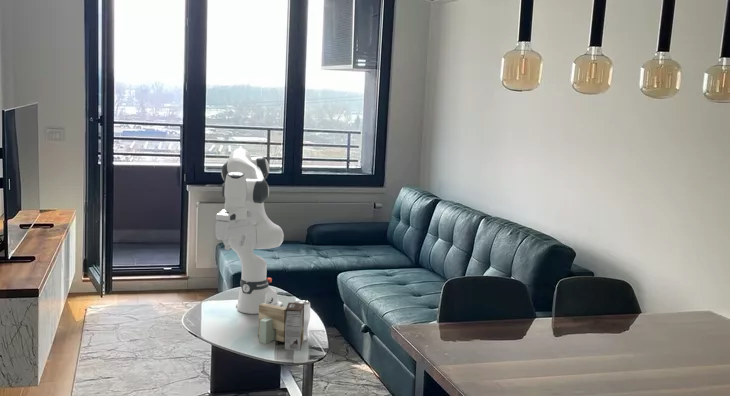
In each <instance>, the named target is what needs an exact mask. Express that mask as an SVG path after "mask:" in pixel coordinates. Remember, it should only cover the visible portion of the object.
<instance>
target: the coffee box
mask: <svg viewBox="0 0 730 396" xmlns="http://www.w3.org/2000/svg"><path fill="white" fill-rule="evenodd" d="M285 308H286V321H285V341H284V350H285V351H286V350H288V351H301V350H302V347H303V345H304V342H303V337H304V303H294V302H288V303H287V305H286V307H285Z"/></svg>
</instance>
